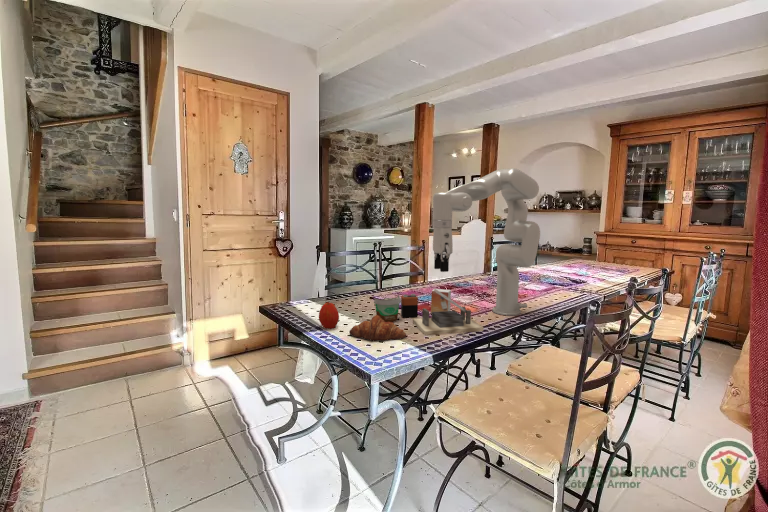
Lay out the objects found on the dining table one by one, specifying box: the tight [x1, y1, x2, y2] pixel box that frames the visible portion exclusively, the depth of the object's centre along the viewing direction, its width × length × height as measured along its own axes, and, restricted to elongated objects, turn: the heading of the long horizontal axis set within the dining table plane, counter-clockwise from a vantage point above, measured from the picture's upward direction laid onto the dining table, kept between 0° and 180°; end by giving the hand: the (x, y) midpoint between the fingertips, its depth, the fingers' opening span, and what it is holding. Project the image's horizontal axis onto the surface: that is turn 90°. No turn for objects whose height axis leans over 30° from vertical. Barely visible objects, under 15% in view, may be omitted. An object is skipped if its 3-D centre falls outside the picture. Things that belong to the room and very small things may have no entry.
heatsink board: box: [412, 306, 485, 336], centre depth 150 cm, size 24×16×8 cm, turn 102°
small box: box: [430, 288, 452, 314], centre depth 170 cm, size 8×6×10 cm
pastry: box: [349, 314, 407, 342], centre depth 139 cm, size 17×15×8 cm
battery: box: [400, 293, 419, 319], centre depth 164 cm, size 4×7×10 cm, turn 98°
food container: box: [373, 295, 401, 323], centre depth 157 cm, size 12×6×10 cm, turn 118°
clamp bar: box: [433, 288, 467, 314], centre depth 149 cm, size 17×4×1 cm
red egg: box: [318, 301, 340, 330], centre depth 148 cm, size 8×8×11 cm
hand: (441, 269), depth 146 cm, fingers open, 5 cm apart
